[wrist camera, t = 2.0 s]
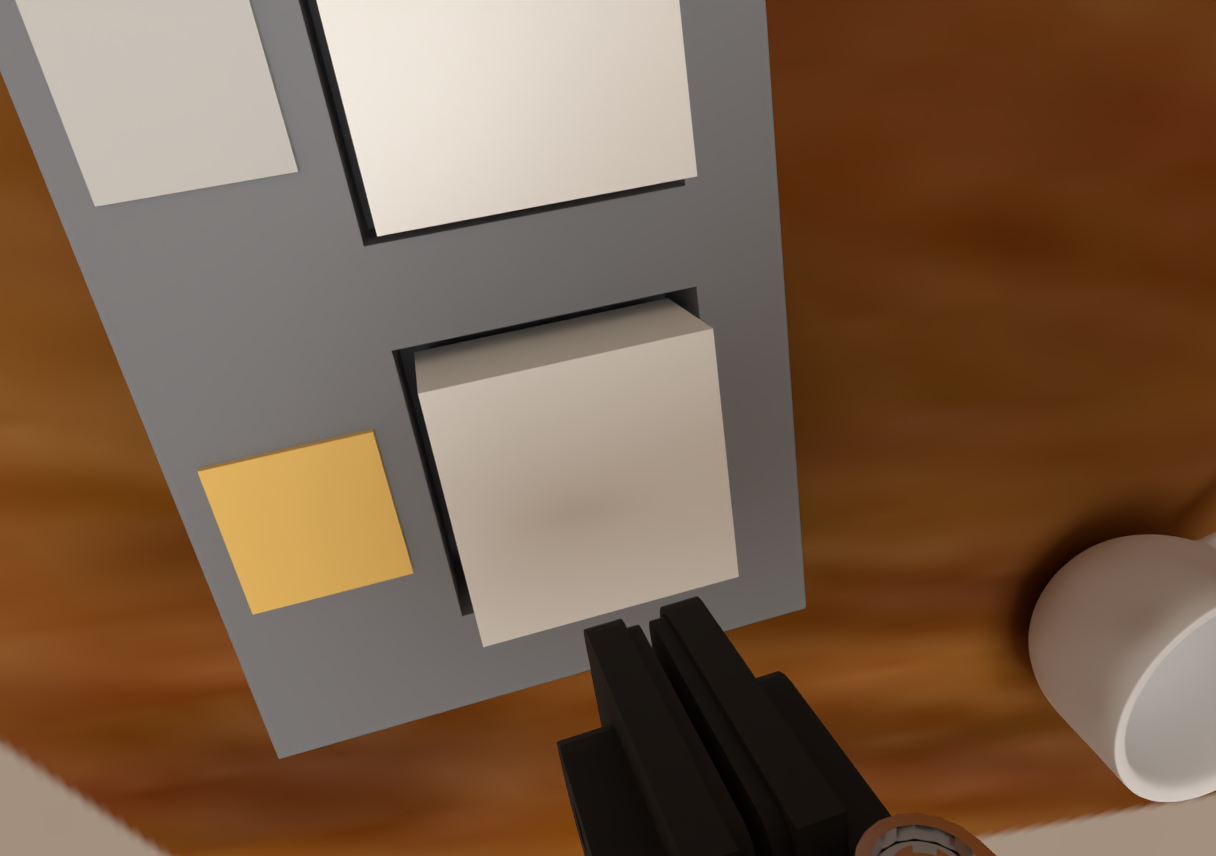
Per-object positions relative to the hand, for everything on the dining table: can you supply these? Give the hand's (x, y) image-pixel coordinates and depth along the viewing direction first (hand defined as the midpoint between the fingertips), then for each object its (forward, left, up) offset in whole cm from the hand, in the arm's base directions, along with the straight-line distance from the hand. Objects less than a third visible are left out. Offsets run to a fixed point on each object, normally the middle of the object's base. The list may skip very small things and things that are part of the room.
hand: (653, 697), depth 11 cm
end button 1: (-1, 0, -9) cm, 9 cm away
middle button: (-1, -9, -9) cm, 13 cm away
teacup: (-19, +11, -12) cm, 25 cm away
